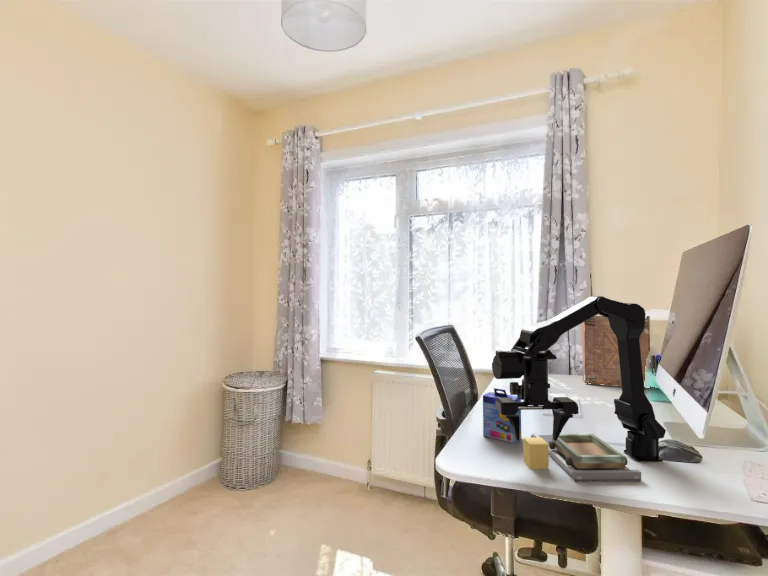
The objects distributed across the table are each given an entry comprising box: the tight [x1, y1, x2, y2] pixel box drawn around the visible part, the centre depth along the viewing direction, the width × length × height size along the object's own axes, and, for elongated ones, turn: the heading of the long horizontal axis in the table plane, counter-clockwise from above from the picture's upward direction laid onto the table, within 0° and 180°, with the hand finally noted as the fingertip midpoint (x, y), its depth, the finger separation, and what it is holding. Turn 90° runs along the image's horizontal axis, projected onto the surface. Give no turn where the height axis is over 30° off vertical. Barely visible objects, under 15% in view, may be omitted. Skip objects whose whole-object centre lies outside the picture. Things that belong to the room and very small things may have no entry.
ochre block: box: [523, 437, 550, 470], centre depth 103 cm, size 4×4×6 cm
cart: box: [549, 433, 628, 469], centre depth 104 cm, size 14×15×3 cm
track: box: [530, 432, 642, 483], centre depth 108 cm, size 15×28×2 cm, turn 0°
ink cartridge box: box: [482, 387, 522, 444], centre depth 122 cm, size 10×6×14 cm, turn 51°
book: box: [581, 315, 651, 386], centre depth 186 cm, size 25×9×30 cm, turn 71°
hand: (536, 440), depth 103 cm, fingers open, 9 cm apart
